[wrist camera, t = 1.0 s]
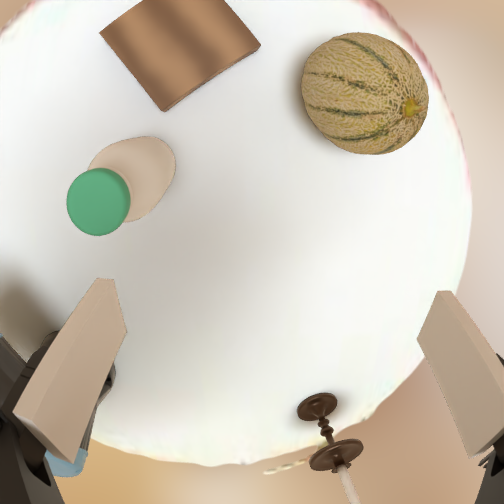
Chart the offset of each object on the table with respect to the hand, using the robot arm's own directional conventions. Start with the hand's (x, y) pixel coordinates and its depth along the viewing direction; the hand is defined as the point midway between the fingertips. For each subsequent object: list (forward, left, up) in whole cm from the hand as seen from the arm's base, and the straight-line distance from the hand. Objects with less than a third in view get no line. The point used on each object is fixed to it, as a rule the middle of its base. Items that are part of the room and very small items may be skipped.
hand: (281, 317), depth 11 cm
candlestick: (-13, -49, -30) cm, 59 cm away
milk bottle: (-7, +8, -30) cm, 32 cm away
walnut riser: (+6, +19, -30) cm, 36 cm away
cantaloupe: (+19, +1, -30) cm, 36 cm away
